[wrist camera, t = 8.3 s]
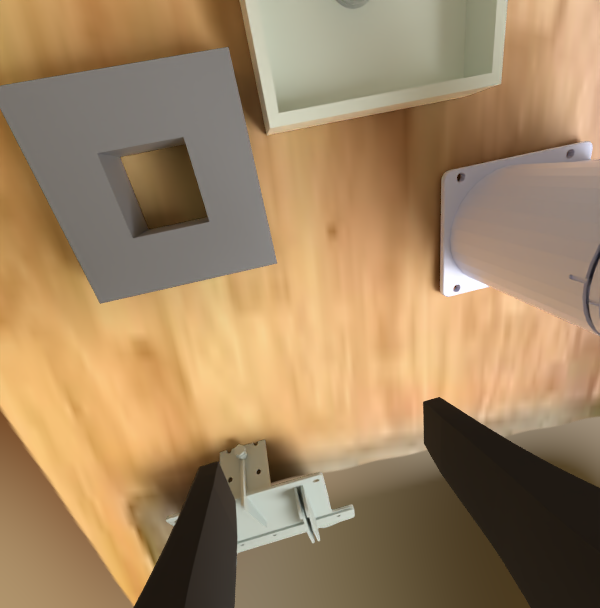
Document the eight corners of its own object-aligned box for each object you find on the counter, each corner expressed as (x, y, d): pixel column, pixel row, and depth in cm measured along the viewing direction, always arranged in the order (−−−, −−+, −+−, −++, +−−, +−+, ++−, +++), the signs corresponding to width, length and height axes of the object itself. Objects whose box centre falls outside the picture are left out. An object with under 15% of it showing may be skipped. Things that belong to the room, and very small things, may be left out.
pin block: (231, 67, 14) (228, 46, 12) (273, 252, 18) (277, 263, 16) (32, 102, 13) (-11, 87, 11) (119, 286, 17) (100, 303, 15)
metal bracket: (121, 560, 18) (358, 489, 19) (140, 462, 22) (332, 408, 23) (204, 589, 27) (360, 540, 28) (206, 515, 32) (341, 476, 33)
